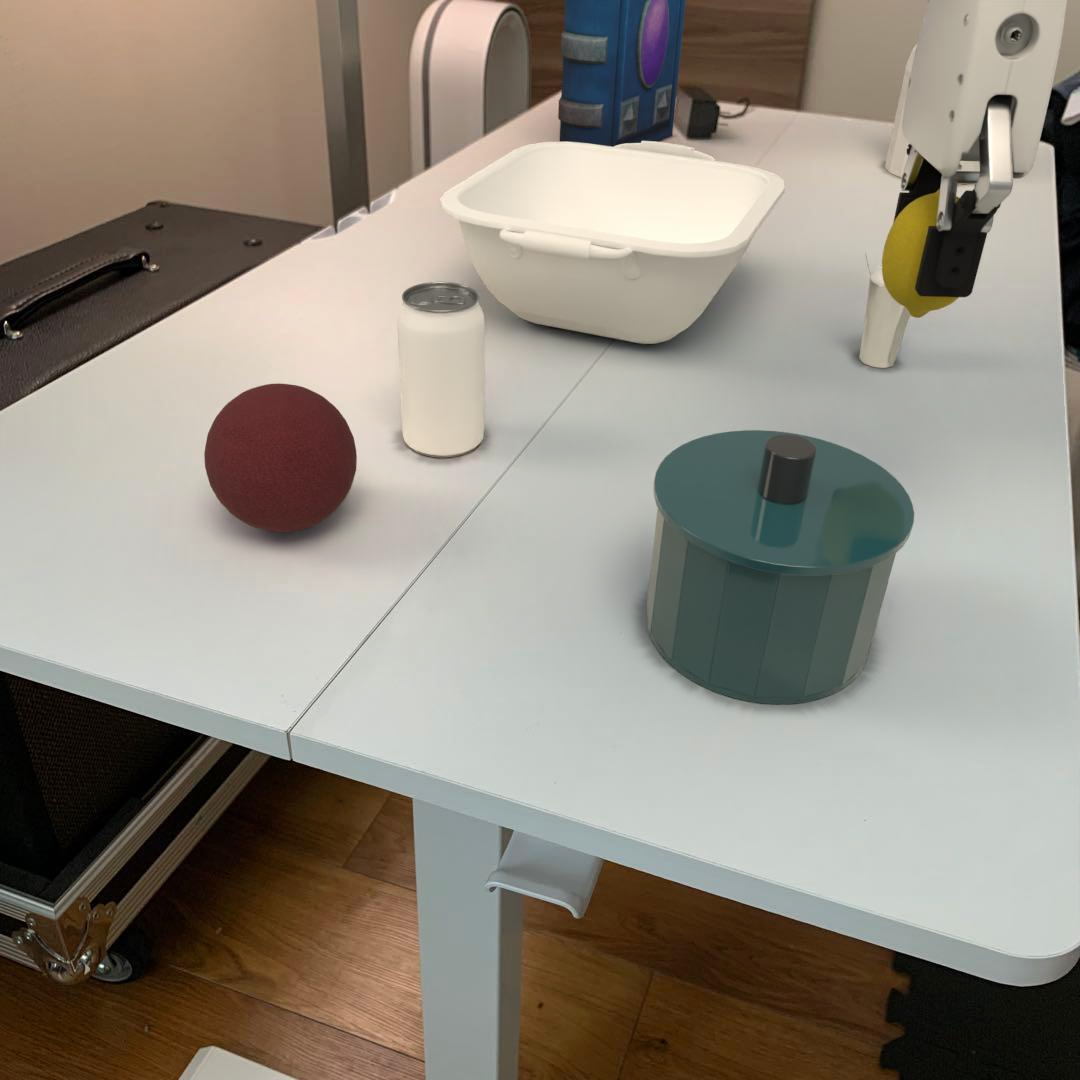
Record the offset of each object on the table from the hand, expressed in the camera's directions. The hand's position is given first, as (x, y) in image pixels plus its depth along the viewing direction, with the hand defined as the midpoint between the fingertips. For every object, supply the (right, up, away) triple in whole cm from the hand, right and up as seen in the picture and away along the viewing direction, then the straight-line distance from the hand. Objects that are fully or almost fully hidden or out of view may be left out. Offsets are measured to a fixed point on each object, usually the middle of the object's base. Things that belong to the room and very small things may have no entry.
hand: (927, 272), depth 65 cm
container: (+33, +37, +89) cm, 102 cm away
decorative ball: (-41, -15, +10) cm, 45 cm away
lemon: (0, -3, +2) cm, 3 cm away
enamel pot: (-10, -22, +1) cm, 24 cm away
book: (-12, +42, +93) cm, 103 cm away
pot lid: (-10, -14, -4) cm, 18 cm away
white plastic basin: (-17, +6, +42) cm, 46 cm away
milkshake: (+7, 0, +35) cm, 36 cm away
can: (-31, -9, +20) cm, 38 cm away
